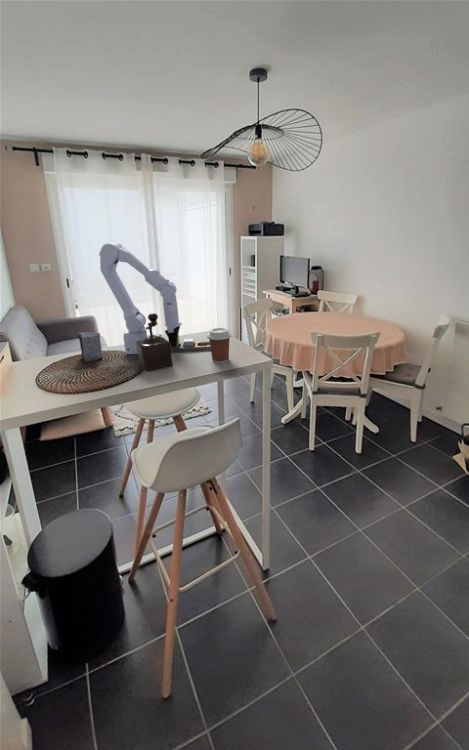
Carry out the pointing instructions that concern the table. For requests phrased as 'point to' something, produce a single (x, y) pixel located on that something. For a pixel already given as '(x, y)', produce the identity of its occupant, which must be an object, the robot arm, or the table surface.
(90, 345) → the stone
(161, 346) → the manual coffee grinder
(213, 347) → the coffee cup
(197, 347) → the rail
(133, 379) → the table surface
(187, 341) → the zinc nut
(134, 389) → the table surface
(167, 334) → the robot arm
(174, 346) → the yellow block
